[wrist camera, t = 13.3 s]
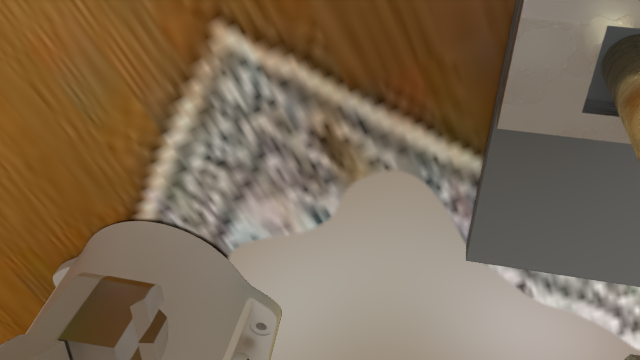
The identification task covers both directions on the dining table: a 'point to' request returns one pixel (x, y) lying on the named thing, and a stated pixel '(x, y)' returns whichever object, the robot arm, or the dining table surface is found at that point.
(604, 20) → the frame
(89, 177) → the dining table surface
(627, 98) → the brass pin
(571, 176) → the mat
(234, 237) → the dining table surface
